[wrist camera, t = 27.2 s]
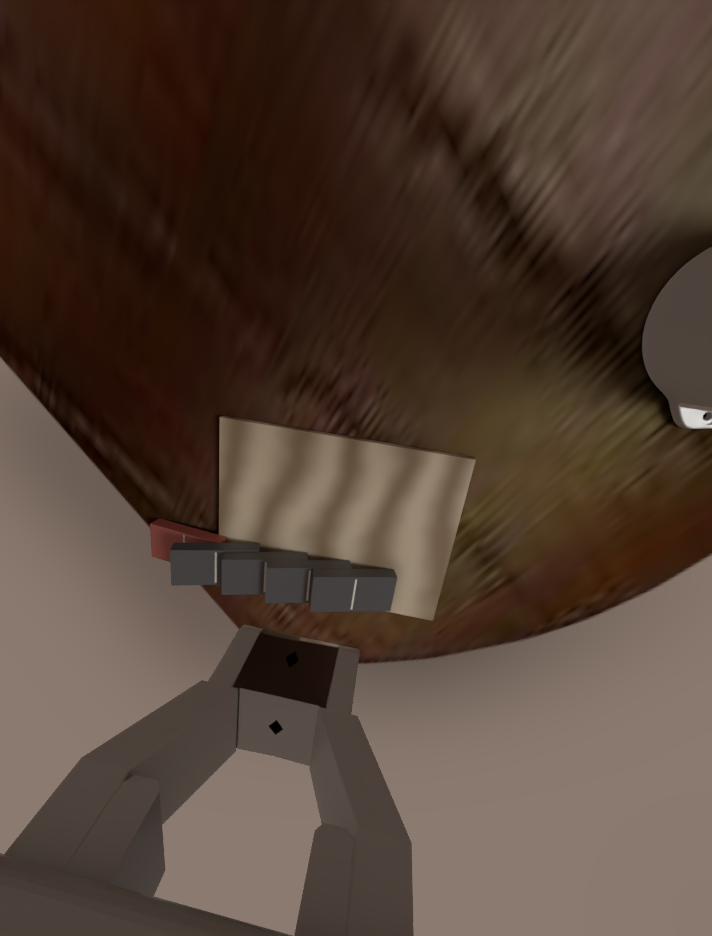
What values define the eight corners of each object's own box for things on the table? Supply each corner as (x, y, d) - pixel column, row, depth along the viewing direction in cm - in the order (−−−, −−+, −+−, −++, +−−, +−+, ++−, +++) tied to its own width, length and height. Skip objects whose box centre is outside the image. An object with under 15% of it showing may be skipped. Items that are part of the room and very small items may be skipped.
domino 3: (351, 568, 41) (266, 568, 39) (346, 601, 43) (264, 603, 41) (349, 560, 43) (267, 559, 41) (345, 593, 44) (265, 594, 42)
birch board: (473, 457, 38) (475, 459, 37) (432, 615, 45) (432, 620, 44) (223, 415, 40) (219, 417, 39) (222, 572, 47) (218, 577, 46)
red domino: (218, 543, 42) (150, 523, 44) (218, 576, 44) (151, 556, 46) (226, 536, 44) (159, 518, 46) (225, 569, 45) (161, 550, 47)
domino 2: (308, 560, 42) (221, 559, 40) (305, 593, 43) (221, 594, 41) (307, 552, 43) (224, 551, 41) (304, 585, 45) (224, 586, 43)
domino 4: (397, 577, 41) (313, 577, 39) (390, 610, 42) (309, 612, 40) (393, 569, 42) (313, 568, 40) (387, 601, 44) (309, 602, 42)
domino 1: (259, 550, 42) (169, 550, 40) (257, 583, 44) (171, 585, 41) (259, 543, 43) (173, 542, 41) (258, 575, 45) (175, 576, 43)
